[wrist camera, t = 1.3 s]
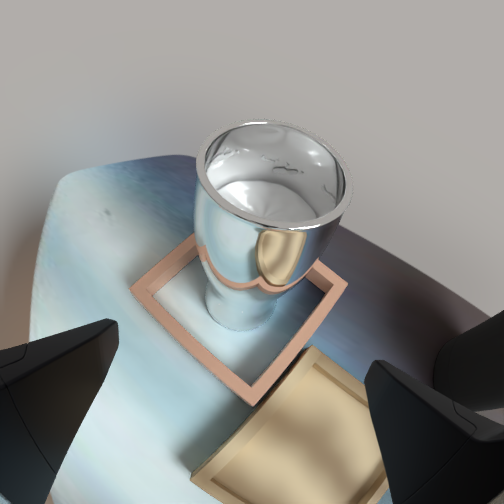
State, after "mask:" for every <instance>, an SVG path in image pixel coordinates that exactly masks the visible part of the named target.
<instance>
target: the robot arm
mask: <svg viewBox="0 0 504 504" xmlns="http://www.w3.org/2000/svg"><path fill="white" fill-rule="evenodd" d="M118 346H119V331H118V323H117V321H115V320H111V319H107V318H106V319H103V320H100V321H96V322H93V323H90V324H87V325H84V326H81V327H78V328H74V329H71V330H68V331H65V332H62V333H58V334H55V335H52V336H49V337H45V338H42V339H39V340H36V341H32V342H29V343H28V344H27V343H25V344H22V345H19V346H15V347H12V348H8V349H4V350H0V504H45V501H46V499H47V496H48V494H49V492H50V489H51V487H52V485H53V482H54V480H55V478H56V475H57V473H58V471H59V469H60V466H61V464H62V462H63V460H64V458H65V456H66V454H67V451H68V449H69V447H70V445H71V443H72V441H73V439H74V437H75V435H76V433H77V431H78V429H79V427H80V425H81V423H82V421H83V419H84V417H85V416H86V414H87V412H88V410H89V408H90V406H91V404H92V402H93V400H94V399H95V397H96V395H97V393H98V391H99V389H100V388H101V386H102V384H103V382H104V380H105V378H106V375H107V373H108V370H109V368H110V366H111V363H112V361H113V358H114V356H115V354H116V351H117V349H118ZM364 384H365V389H366V395H367V400H368V406H369V411H370V416H371V420H372V424H373V427H374V431H375V434H376V438H377V441H378V445H379V449H380V452H381V456H382V460H383V464H384V468H385V472H386V476H387V480H388V484H389V489H390V493H391V497H392V502H393V504H504V425H501V424H499V423H497V422H494V421H492V420H490V419H488V418H486V417H483V416H481V415H479V414H477V413H475V412H473V411H471V410H469V409H467V408H465V407H464V406H462V405H460V404H458V403H456V402H455V401H452V400H451V399H449V398H448V397H446V396H444V395H442V394H441V393H439V392H437V391H435V390H434V389H432V388H430V387H429V386H427V385H425V384H423V383H422V382H420V381H418V380H417V379H415V378H413V377H412V376H410V375H408V374H406V373H405V372H403V371H401V370H400V369H398V368H396V367H395V366H393V365H391V364H390V363H388V362H386V361H385V360H375V361H373V362H372V364H371V366H370V368H369V370H368V372H367V374H366V377H365V380H364Z"/></svg>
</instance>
